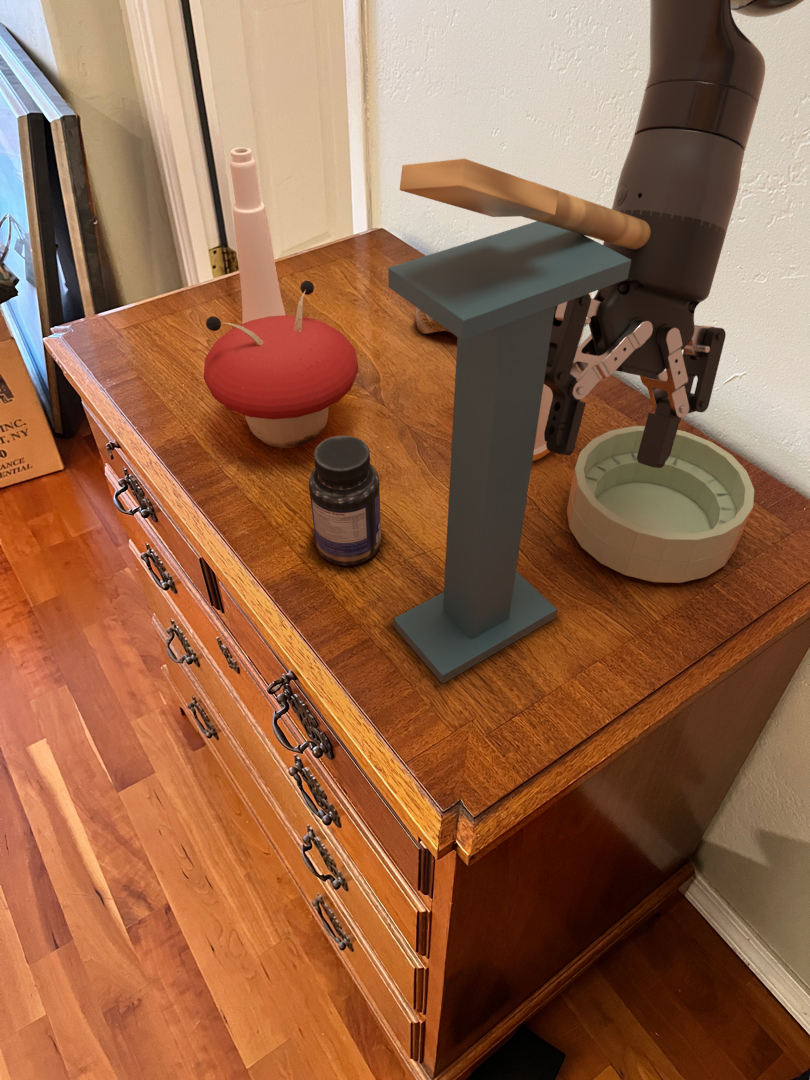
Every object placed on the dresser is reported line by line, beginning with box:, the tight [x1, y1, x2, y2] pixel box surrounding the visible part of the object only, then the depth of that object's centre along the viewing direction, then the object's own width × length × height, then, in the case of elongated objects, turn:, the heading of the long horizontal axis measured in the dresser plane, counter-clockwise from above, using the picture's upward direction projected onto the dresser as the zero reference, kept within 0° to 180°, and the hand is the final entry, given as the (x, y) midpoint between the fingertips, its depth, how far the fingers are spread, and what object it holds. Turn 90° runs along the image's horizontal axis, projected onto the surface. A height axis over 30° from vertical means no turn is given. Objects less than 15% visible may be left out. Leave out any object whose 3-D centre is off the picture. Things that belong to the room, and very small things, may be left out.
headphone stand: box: [387, 221, 631, 685], centre depth 56 cm, size 7×12×32 cm, turn 124°
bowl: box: [566, 425, 755, 584], centre depth 74 cm, size 16×16×6 cm
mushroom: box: [203, 280, 359, 449], centre depth 81 cm, size 16×16×15 cm
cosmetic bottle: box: [229, 147, 286, 324], centre depth 93 cm, size 6×6×22 cm
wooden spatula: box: [399, 158, 651, 249], centre depth 46 cm, size 23×4×2 cm
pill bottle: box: [308, 435, 382, 567], centre depth 70 cm, size 6×6×11 cm
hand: (605, 459), depth 56 cm, fingers open, 8 cm apart
